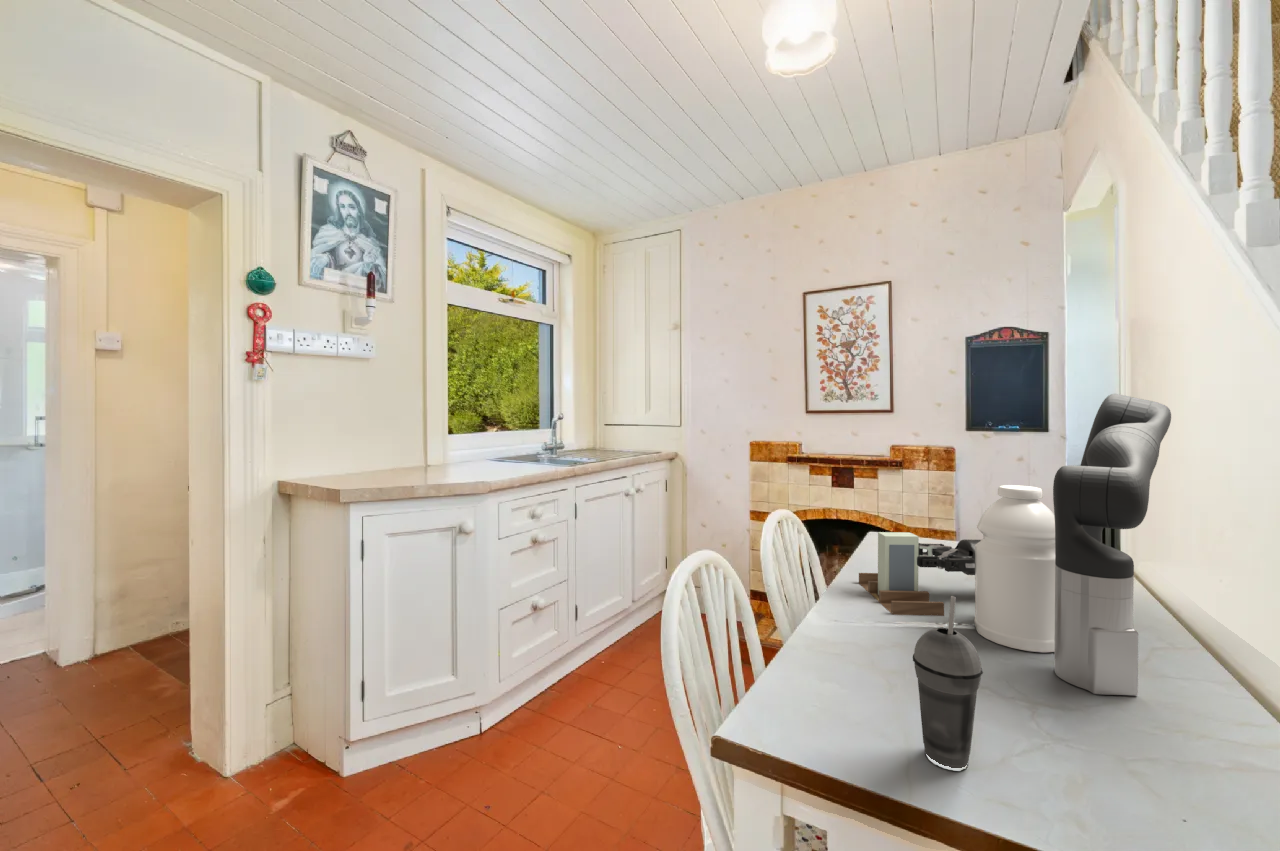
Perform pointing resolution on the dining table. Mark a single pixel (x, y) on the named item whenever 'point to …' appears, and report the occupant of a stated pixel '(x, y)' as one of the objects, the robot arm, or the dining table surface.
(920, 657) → the beverage cup
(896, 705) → the dining table surface
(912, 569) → the beige box
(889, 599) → the stand
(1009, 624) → the bottle
